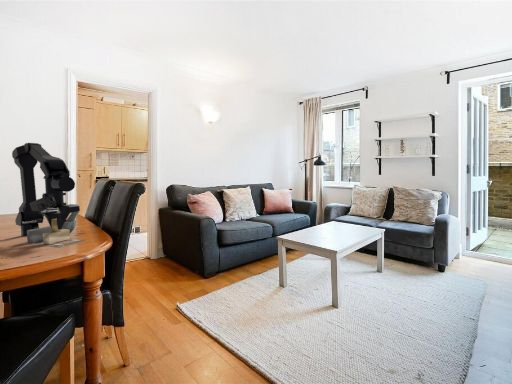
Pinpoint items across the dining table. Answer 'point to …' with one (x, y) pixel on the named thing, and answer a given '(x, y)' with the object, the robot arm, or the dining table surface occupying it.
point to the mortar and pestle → (70, 222)
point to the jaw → (56, 234)
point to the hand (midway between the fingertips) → (56, 229)
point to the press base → (37, 238)
